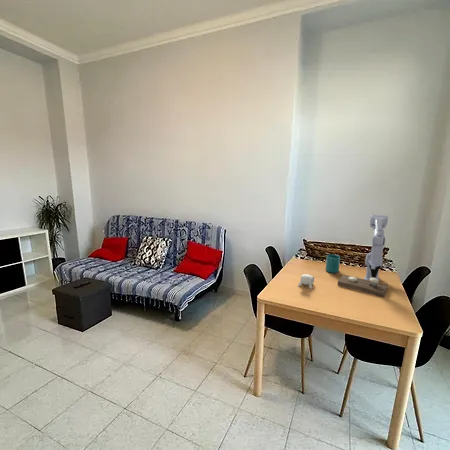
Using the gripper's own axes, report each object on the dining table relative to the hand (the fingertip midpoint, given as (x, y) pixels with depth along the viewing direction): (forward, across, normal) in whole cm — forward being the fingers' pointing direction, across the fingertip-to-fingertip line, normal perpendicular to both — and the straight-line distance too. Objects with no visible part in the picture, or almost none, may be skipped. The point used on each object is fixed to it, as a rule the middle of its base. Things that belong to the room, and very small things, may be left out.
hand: (373, 277), depth 165 cm
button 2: (+6, 0, 0) cm, 6 cm away
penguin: (+9, +21, -34) cm, 41 cm away
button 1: (+8, 0, -12) cm, 14 cm away
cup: (+9, -18, -30) cm, 36 cm away
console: (+8, 0, -6) cm, 10 cm away
